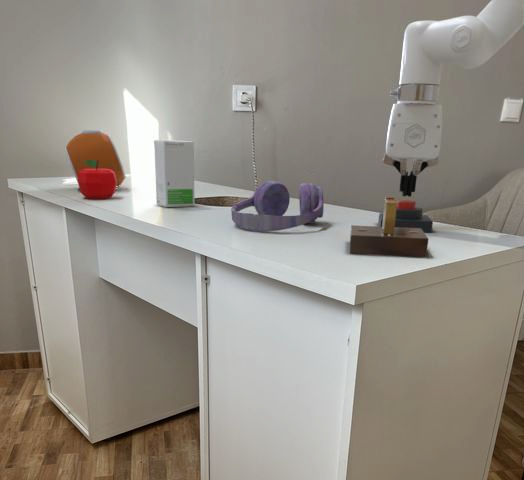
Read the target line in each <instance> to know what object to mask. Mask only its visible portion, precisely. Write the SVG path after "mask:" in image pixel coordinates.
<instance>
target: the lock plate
mask: <svg viewBox="0 0 524 480" xmlns="http://www.w3.org/2000/svg"><path fill="white" fill-rule="evenodd" d="M349 237H350V238H349V254H350V255H364V256H365V255H366V256H389V257H407V258H408V257H410V258H427V253H428V245H429V237H428V236H427V235H426V232H423V230H422V229H421V228H401V227H394V234H384V232H383V229H382V227H379V226H375V225H374V226H372V225H350V236H349Z"/></svg>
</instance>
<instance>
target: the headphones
mask: <svg viewBox="0 0 524 480" xmlns="http://www.w3.org/2000/svg"><path fill="white" fill-rule="evenodd" d="M298 189H299V191H298V192H299V193H298V195H299V196H298V197H299V198H298V199H299V200H298V201H299V214H298V215H297V214H296V215H285V214H286V213H287V211H288V209H289V206H290V200H291V198H290V193H289V190H288V188H287V186H286V185H285V184H283V182H281V181H275V180H267V181H264V182H263V183H261V184H260V185H258V186H257V188H256V189H255V191H254V193H253V194H252V196H250V197H248V198H246V199H242V200H240V201H238V202H236V203H235V204H234V205H233V206H231V209H230V210H231V211H230V212H231V220H232V221H233V223H234V224H235V225H236V226H238V227H240V228H242V229H244V230H248V231H251V232H259V233H263V232H264V233H268V232H277V231H283V230H288V229H293V228H297V227H300V226H303V225H305V224H308V223H314V222H316V220H318V219H319V218H321V219H322V218H323V217H324V190H323V187H322V186H316V185H315V184H314V183H306V182H303V183H301V184H300V185H299V188H298ZM251 207H254V209H255V211H256V214H255V213H251V212H250V213H249V212H241V211H242V210H245V209H247V208H251Z"/></svg>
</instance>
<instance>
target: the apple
mask: <svg viewBox="0 0 524 480" xmlns="http://www.w3.org/2000/svg"><path fill="white" fill-rule="evenodd" d="M98 161H99V160H97V162H96V161H95V160H88V161H83V162H84V163H86V164H87V165H89V166H90V167H94V168H95V167H96V169H83V170H81V171H80V172H78V182H77V184H78V187H79V191H80V193H81V195H82V196H83V197H84V198H86V199H88V198H89V199H90V200H105V199H106V198H108V199H111V198H112V197H113V196H114V195H115V193H116V191H117V189H116V183H117V179H116V175H115V172H114V171H112V170H110V169H97V168H98ZM110 197H111V198H110ZM106 200H107V199H106Z"/></svg>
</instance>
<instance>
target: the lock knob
mask: <svg viewBox="0 0 524 480" xmlns="http://www.w3.org/2000/svg"><path fill="white" fill-rule="evenodd" d="M397 202H398V201H397V200H396V199H395V197H394V196H391V197H390V196H385V198H384V203H383V212H382V213H383V223H382V229H383V232H384V234H394V227H395V218H396V208H397Z"/></svg>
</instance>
